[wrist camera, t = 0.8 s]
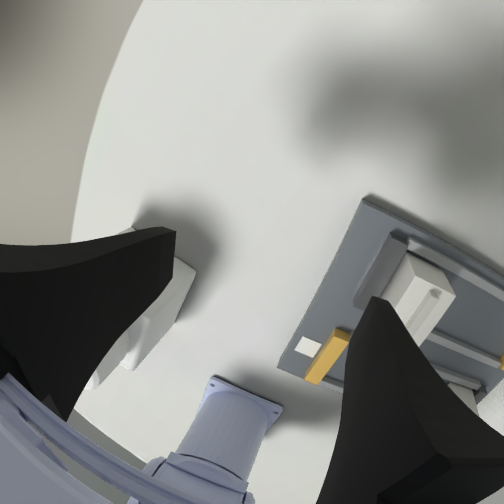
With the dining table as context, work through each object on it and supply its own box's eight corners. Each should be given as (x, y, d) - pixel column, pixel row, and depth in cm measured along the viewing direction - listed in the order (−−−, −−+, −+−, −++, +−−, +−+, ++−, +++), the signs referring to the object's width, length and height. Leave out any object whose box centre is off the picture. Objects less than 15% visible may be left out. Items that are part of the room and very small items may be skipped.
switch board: (451, 417, 23) (454, 433, 21) (280, 358, 25) (273, 375, 23) (548, 307, 16) (558, 321, 14) (361, 198, 18) (363, 207, 16)
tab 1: (411, 317, 18) (419, 353, 15) (376, 302, 19) (379, 337, 16) (442, 270, 17) (458, 301, 13) (406, 252, 17) (417, 280, 14)
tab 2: (444, 415, 21) (448, 447, 18) (422, 409, 21) (425, 442, 18) (472, 389, 19) (480, 421, 16) (450, 382, 19) (457, 416, 16)
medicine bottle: (115, 283, 28) (28, 353, 17) (131, 224, 24) (19, 291, 14) (173, 325, 27) (97, 415, 17) (199, 270, 24) (102, 369, 13)
